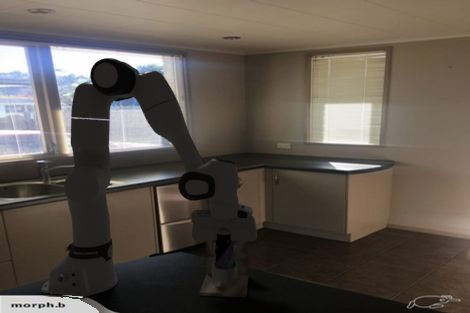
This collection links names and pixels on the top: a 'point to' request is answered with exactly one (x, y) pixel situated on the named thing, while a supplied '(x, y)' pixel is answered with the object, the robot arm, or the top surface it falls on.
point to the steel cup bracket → (225, 276)
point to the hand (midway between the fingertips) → (224, 253)
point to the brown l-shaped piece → (243, 273)
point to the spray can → (224, 249)
